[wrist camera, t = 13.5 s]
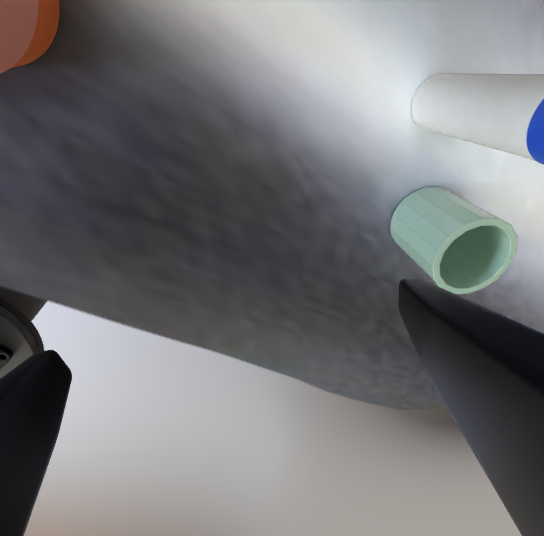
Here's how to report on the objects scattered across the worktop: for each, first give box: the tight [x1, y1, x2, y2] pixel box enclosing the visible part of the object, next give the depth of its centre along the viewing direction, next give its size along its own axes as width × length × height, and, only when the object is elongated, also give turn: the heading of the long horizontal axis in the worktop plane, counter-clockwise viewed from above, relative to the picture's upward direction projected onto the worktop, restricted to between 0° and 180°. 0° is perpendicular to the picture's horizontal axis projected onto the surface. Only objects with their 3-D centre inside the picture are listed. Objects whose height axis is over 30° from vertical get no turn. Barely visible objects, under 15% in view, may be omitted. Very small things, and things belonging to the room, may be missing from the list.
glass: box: [390, 187, 518, 294], centre depth 20 cm, size 5×5×6 cm
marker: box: [411, 74, 544, 164], centre depth 14 cm, size 3×3×12 cm
